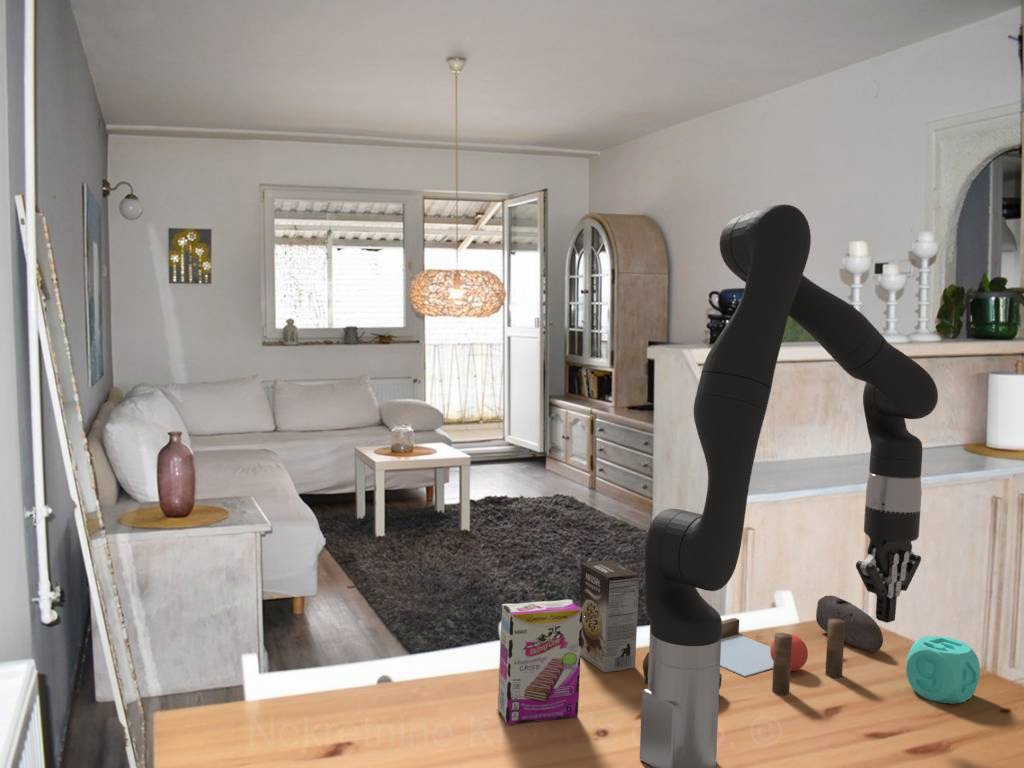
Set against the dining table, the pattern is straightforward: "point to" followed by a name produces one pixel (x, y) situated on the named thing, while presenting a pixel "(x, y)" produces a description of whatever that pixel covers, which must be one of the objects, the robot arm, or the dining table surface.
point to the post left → (782, 663)
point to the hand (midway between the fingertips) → (885, 620)
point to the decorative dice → (942, 669)
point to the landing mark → (745, 655)
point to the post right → (835, 648)
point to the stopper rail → (730, 627)
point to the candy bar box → (539, 661)
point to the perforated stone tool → (850, 623)
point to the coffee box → (609, 615)
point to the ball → (795, 653)
